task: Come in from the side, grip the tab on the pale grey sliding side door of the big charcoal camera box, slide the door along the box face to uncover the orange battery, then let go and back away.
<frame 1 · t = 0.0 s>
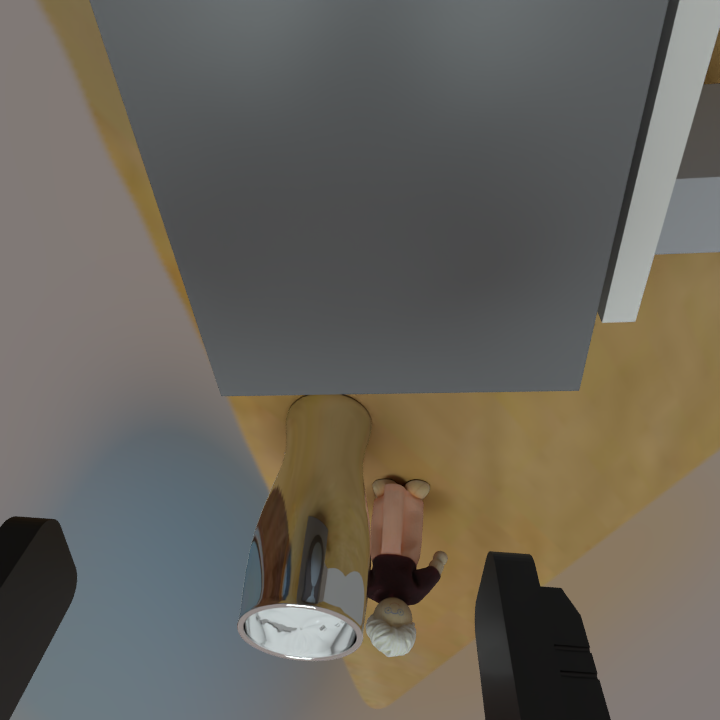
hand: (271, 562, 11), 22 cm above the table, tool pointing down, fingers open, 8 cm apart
grandmother figurine: (393, 487, 46), on the table
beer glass: (329, 419, 41), on the table
camera box: (390, 3, 24), on the table
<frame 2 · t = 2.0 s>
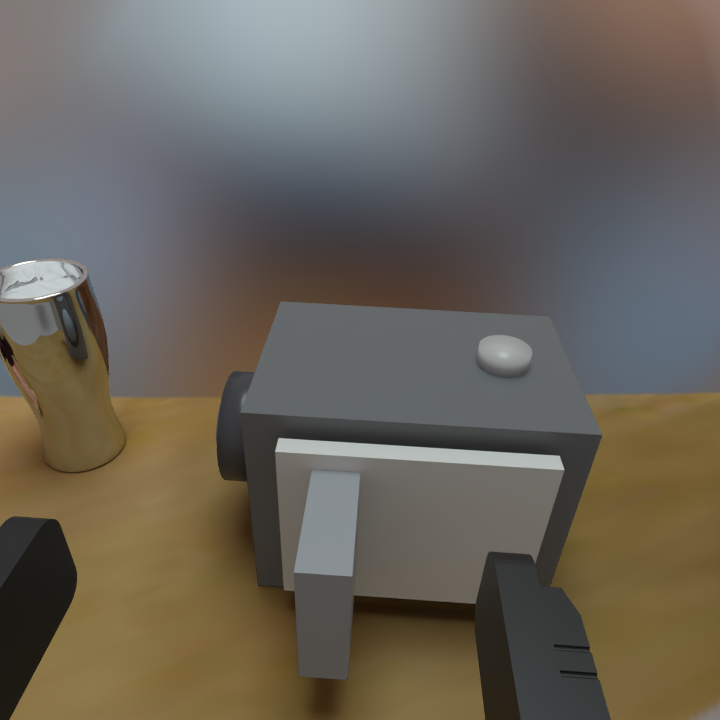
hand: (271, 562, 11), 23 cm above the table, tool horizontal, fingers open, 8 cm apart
side door: (410, 576, 29), point 8 cm above the table, slide at 0.0 cm
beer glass: (86, 448, 47), on the table
camera box: (399, 520, 41), on the table
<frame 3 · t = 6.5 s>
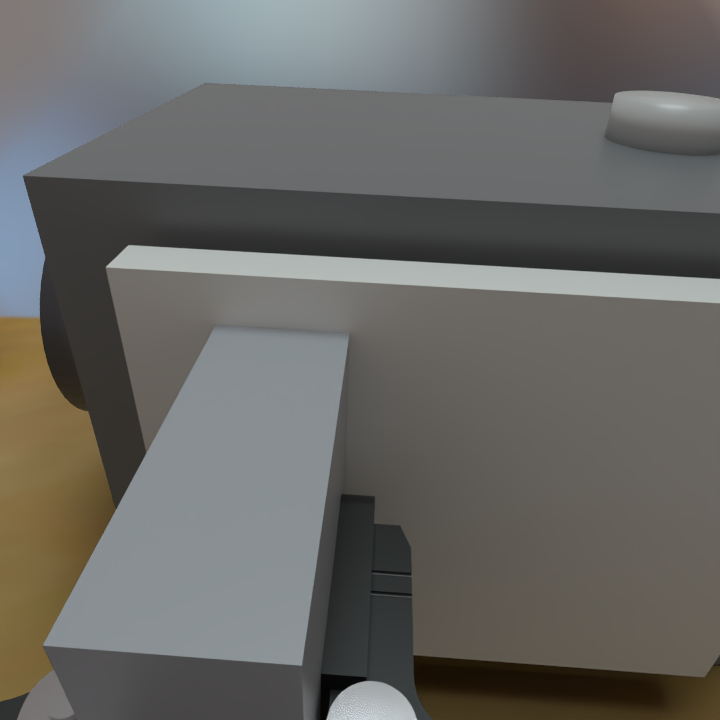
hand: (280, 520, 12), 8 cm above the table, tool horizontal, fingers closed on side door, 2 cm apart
side door: (485, 623, 11), point 8 cm above the table, slide at 0.0 cm, touching gripper
camera box: (424, 499, 23), on the table
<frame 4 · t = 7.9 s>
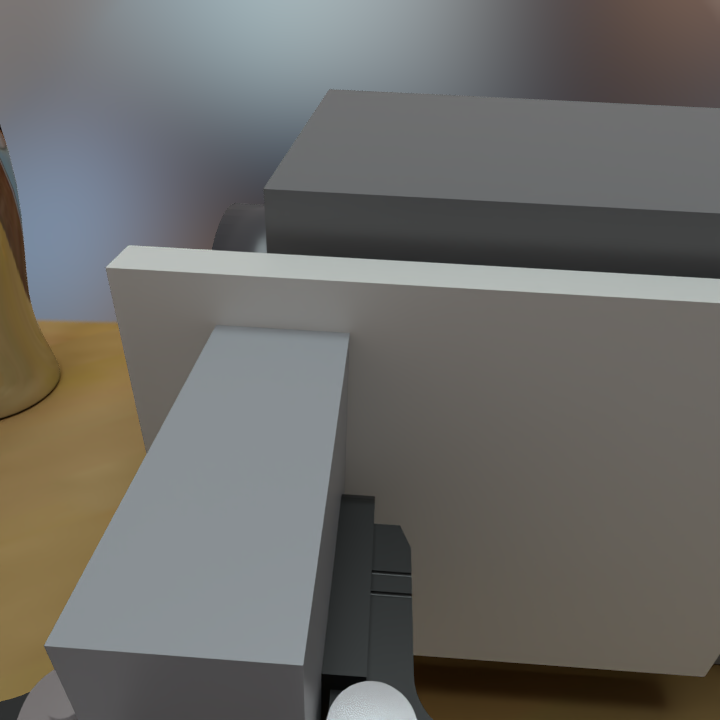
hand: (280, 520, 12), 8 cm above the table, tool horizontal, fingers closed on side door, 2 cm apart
side door: (486, 623, 11), point 8 cm above the table, slide at 4.5 cm, touching gripper
camera box: (536, 507, 23), on the table
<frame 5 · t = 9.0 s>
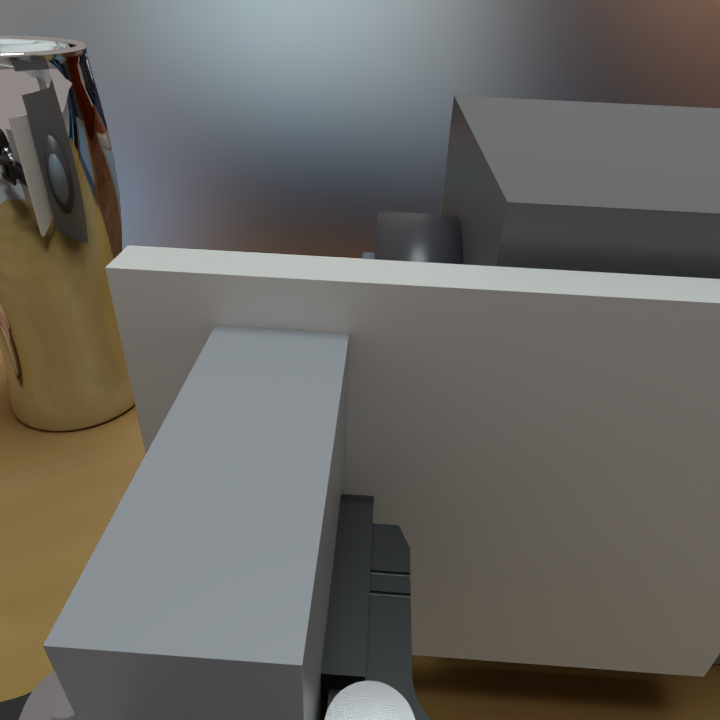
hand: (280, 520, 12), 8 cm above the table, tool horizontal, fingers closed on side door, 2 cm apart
side door: (485, 623, 11), point 8 cm above the table, slide at 8.9 cm, touching gripper
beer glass: (83, 395, 28), on the table
camera box: (649, 515, 23), on the table
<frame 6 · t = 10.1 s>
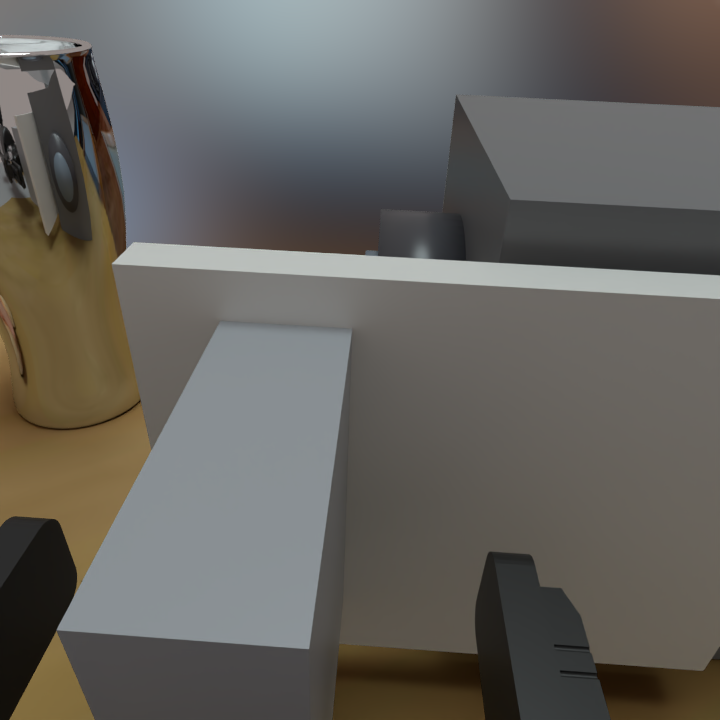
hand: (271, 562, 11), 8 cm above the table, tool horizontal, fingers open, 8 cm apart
side door: (486, 615, 11), point 7 cm above the table, slide at 8.9 cm
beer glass: (86, 393, 28), on the table
camera box: (650, 512, 23), on the table
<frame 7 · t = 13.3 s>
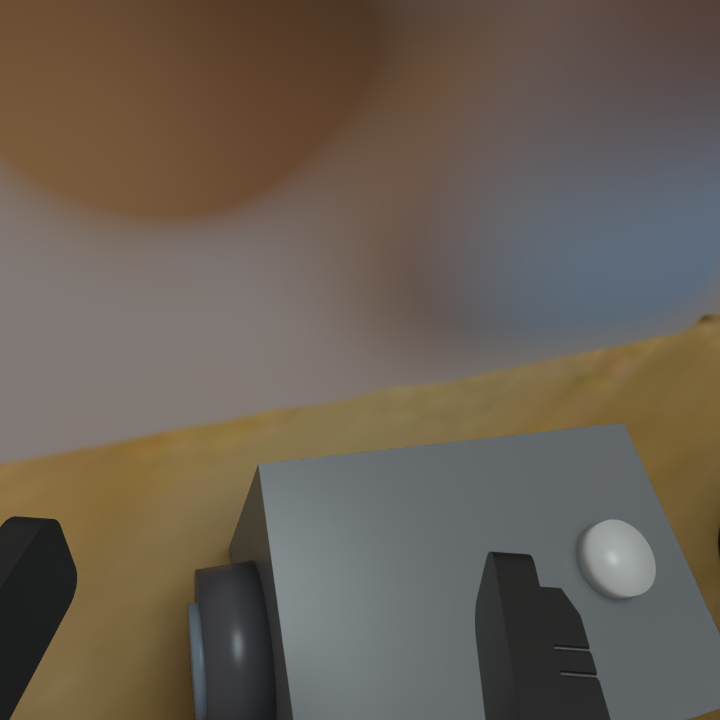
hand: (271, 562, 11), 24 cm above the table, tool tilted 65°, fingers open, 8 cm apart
camera box: (394, 624, 34), on the table
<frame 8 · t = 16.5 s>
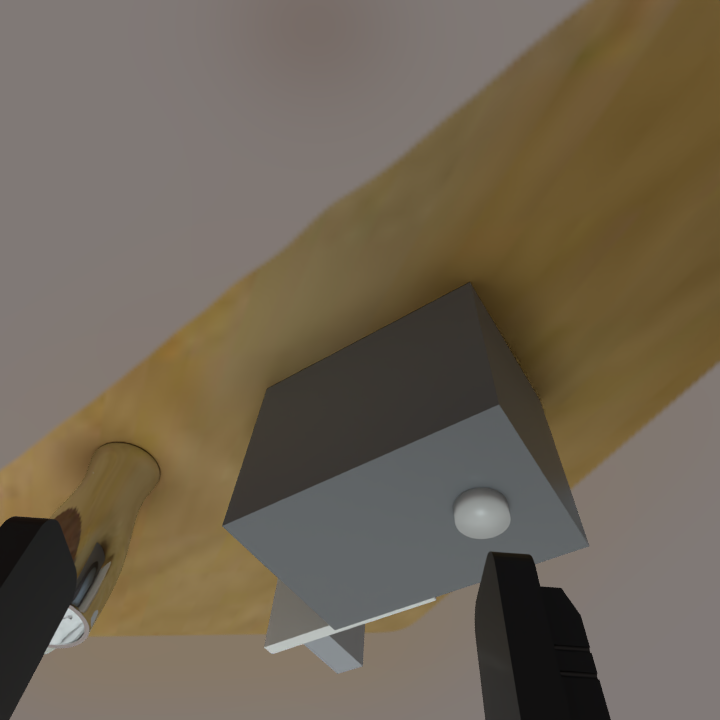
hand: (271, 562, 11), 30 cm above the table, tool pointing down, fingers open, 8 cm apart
side door: (371, 581, 47), point 8 cm above the table, slide at 8.9 cm
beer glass: (127, 465, 52), on the table
camera box: (402, 394, 46), on the table
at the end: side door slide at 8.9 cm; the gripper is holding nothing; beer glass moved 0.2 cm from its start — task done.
